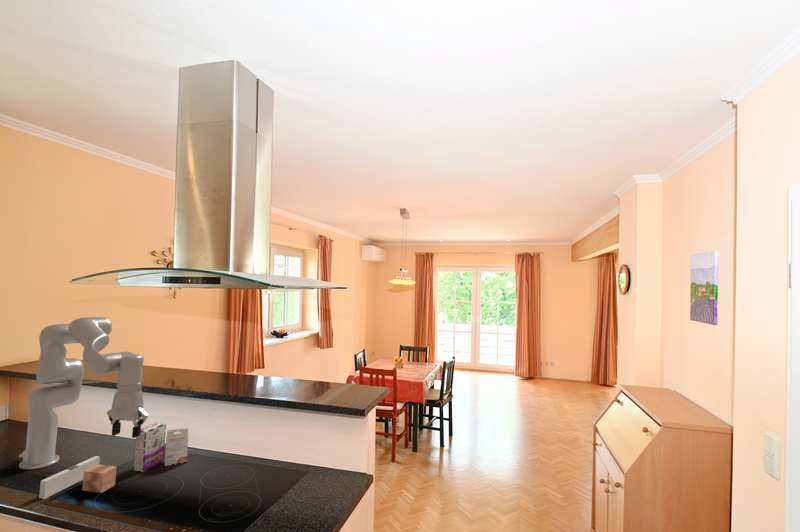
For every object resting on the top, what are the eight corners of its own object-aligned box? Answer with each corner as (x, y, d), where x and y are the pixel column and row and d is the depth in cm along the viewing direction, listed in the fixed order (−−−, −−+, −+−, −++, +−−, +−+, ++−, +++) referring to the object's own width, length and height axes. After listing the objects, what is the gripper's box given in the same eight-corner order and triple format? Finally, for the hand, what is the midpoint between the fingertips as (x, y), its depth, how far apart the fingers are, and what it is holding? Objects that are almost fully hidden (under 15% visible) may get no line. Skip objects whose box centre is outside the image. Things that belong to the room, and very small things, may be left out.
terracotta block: (82, 490, 149) (83, 471, 150) (96, 483, 155) (98, 464, 156) (101, 493, 148) (103, 473, 149) (115, 485, 154) (116, 466, 154)
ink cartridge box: (186, 458, 180) (189, 424, 181) (186, 463, 175) (189, 428, 176) (164, 461, 176) (167, 427, 177) (163, 466, 171) (166, 430, 172)
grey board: (38, 498, 143) (40, 480, 143) (94, 471, 164) (95, 455, 165) (44, 499, 142) (45, 480, 143) (98, 471, 164) (100, 456, 164)
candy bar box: (154, 460, 177) (157, 421, 178) (163, 461, 176) (166, 423, 177) (132, 471, 166) (135, 430, 167) (142, 472, 165) (146, 431, 166)
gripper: (100, 388, 150) (96, 436, 149) (142, 392, 148) (139, 441, 147) (117, 384, 158) (113, 430, 156) (157, 387, 155) (154, 434, 154)
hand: (125, 435), depth 152 cm, fingers open, 7 cm apart
